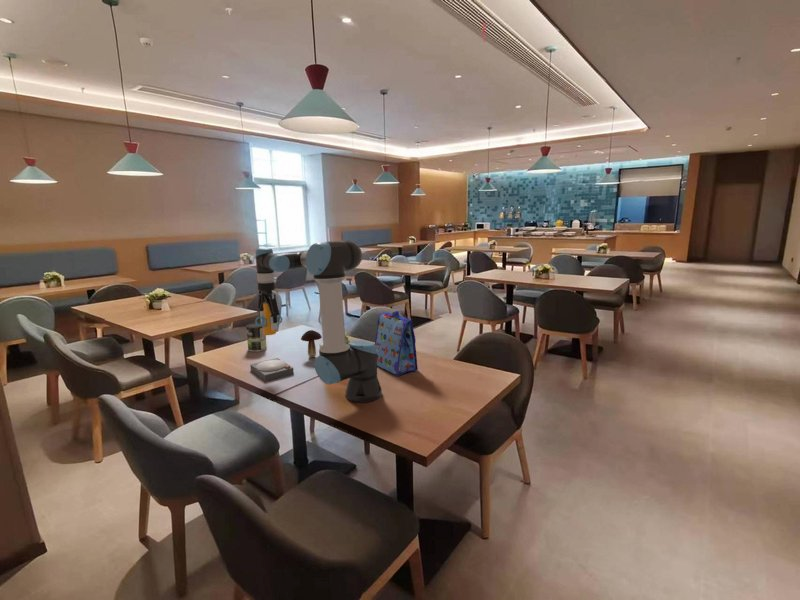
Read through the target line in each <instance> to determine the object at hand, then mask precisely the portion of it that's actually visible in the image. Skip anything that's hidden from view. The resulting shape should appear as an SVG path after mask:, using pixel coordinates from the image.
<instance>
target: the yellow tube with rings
mask: <svg viewBox="0 0 800 600" xmlns="http://www.w3.org/2000/svg"><path fill="white" fill-rule="evenodd" d="M263 308H264V315H263V317H260V316H257V317H256V318H255V321H254V323H256V324H257V325H259V326H261V325H262V326H263V334H264V335H266V336H272V335H273V336H274V335H275V334H277V329H276V330H272V328H271V317H270V316H271V312H270V309H269V306H268V304H267V303H266V302H264V303H263ZM277 318H279V319H280V321H277V322H278V325H279V324H281V323H282V322H283V317H282V316H281V315H280V314H279V315H278V316H277ZM259 319H260V320H261V319H262V322H261V321H260V323H261V324H258V323H259V322H258V320H259Z"/></svg>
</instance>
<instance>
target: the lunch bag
mask: <svg viewBox="0 0 800 600" xmlns="http://www.w3.org/2000/svg"><path fill="white" fill-rule="evenodd" d="M376 324H377V325H376V331H375V333H376V334H375V340H374V344H375V345H376V349H377V367H378V368H380V369H381V368H382V369H383V370H385V371H387V372H388V373H391V374H392V375H394V376H396V377H400V376H401V375H403V374H407V372H417V371H418V370H419V367H418V357H417V350H416V349H417V348H416V335H415V330H414V325H413V319H412V318H407V317H404V316H402V315H400V314H399V310H394V311H392V313H390V312H385V311H384V312H383V311H382V312H380V314H379V315H378V319H377V323H376Z"/></svg>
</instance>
